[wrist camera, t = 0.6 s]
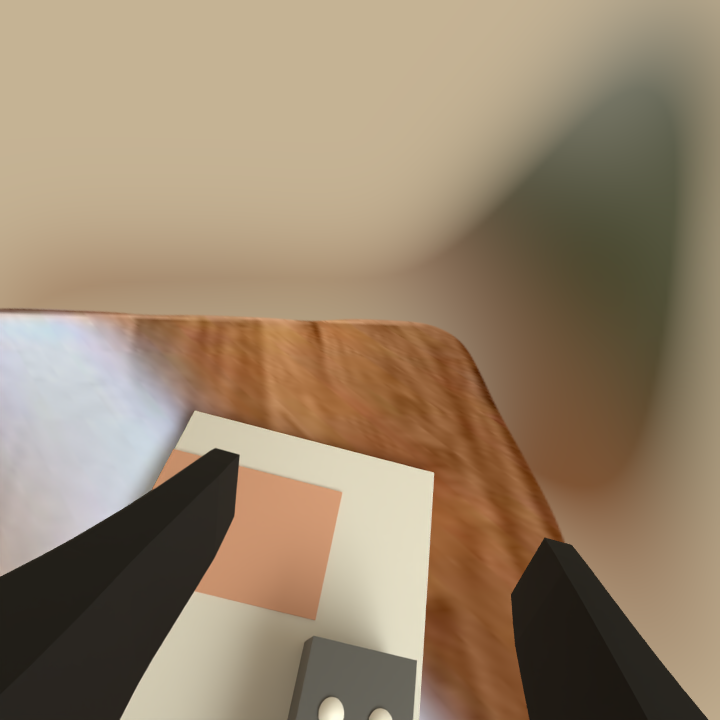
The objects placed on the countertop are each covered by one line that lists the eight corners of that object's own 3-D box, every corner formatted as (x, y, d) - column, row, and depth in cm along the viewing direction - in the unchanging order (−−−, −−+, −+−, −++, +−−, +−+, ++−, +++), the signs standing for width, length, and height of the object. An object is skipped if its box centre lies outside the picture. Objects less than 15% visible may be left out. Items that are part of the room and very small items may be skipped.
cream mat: (396, 1006, 15) (401, 1020, 14) (-66, 912, 14) (-80, 923, 13) (431, 475, 28) (434, 471, 27) (195, 414, 27) (194, 409, 27)
